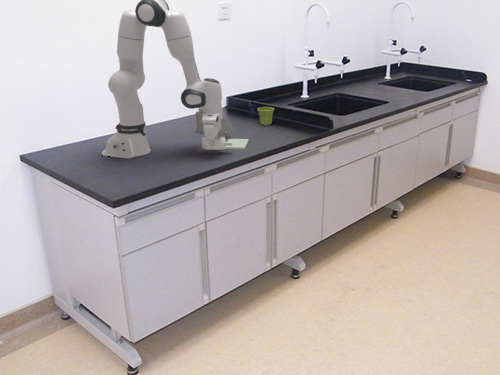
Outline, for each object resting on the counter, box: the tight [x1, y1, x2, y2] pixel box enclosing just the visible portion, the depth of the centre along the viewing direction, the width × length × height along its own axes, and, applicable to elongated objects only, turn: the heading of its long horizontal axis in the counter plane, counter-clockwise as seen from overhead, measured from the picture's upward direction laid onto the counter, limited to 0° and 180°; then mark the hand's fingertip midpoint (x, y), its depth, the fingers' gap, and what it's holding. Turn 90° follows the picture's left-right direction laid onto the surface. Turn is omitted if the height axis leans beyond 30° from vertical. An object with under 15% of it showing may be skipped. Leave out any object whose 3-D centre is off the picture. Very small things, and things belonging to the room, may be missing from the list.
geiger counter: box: [195, 107, 233, 138], centre depth 257 cm, size 14×6×25 cm
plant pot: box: [256, 106, 275, 126], centre depth 275 cm, size 9×9×9 cm
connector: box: [201, 136, 232, 151], centre depth 229 cm, size 14×4×5 cm, turn 82°
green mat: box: [225, 138, 250, 151], centre depth 242 cm, size 10×14×1 cm
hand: (213, 144), depth 230 cm, fingers closed on connector, 4 cm apart
